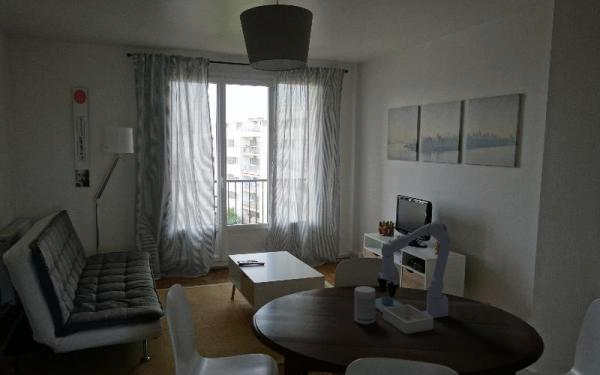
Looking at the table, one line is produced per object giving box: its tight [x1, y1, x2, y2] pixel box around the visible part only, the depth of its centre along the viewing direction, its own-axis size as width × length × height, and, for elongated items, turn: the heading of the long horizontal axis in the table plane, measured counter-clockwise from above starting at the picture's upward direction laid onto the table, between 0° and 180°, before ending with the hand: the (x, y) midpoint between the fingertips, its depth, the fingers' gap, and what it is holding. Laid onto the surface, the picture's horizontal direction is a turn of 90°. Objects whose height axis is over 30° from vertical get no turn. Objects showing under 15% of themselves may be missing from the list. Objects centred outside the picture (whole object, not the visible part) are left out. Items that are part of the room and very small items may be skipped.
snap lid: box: [375, 295, 404, 314], centre depth 222 cm, size 14×18×6 cm
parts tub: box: [382, 304, 434, 335], centre depth 201 cm, size 14×18×5 cm
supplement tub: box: [353, 285, 377, 325], centre depth 204 cm, size 10×10×15 cm
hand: (387, 294), depth 221 cm, fingers open, 7 cm apart
